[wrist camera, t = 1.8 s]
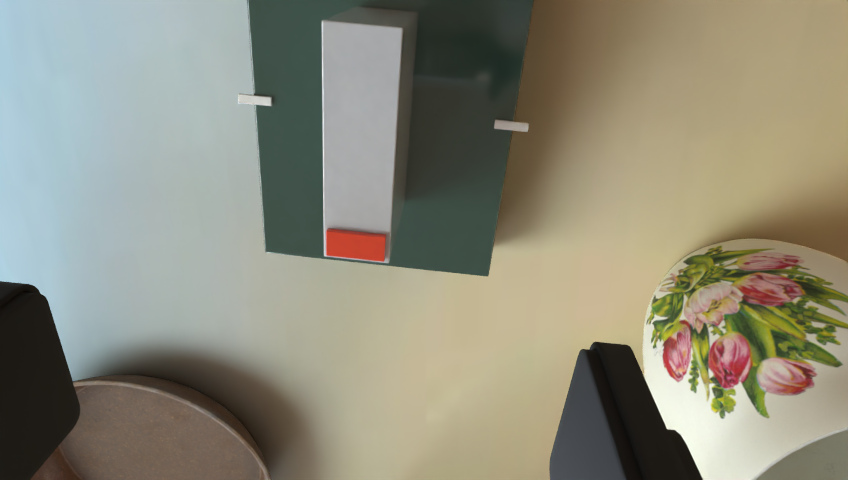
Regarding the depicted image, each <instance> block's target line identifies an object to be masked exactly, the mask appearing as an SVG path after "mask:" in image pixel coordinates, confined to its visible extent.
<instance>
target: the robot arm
mask: <svg viewBox="0 0 848 480" xmlns="http://www.w3.org/2000/svg"><path fill="white" fill-rule="evenodd" d="M79 416H80V404H79V400H78V397H77V394H76V391H75V388H74V384H73V381H72V378H71V375H70V371H69V368H68V365H67V362H66V359H65V355H64V352H63V349H62V346H61V342H60V339H59V336H58V333H57V330H56V326H55V323H54V320H53V317H52V313H51V310H50V307H49V304H48V301H47V299H46V297H45V296H43V295H41V294H40V292H39V290H38V289H37V288H36V287H35V286H33V285H29V284H21V283H11V282H1V281H0V480H30V479H31V478H32V477H33V476H34V474H35V473H36V472H37V471H38V470H39V468H40V467H41V466H42V465H43V464H44V462H45V461H46V460H47V459H48V458H49V457H50V455H51V454H52V453H53V452H54V451H55V449H56V448H57V447H58V446H59V445H60V443H61V442H62V441H63V440H64V439H65V437H66V436H67V435H68V434H69V433H70V432H71V430H72V429H73V428H74V426H75V425H76V423H77V421H78V419H79ZM550 480H703V478H702V476H701V474H700V472H699V470H698V468H697V466H696V464H695V461H694V459H693V457H692V455H691V453H690V451H689V449H688V446H687V444H686V442H685V441H684V439H683V438H682V436H681V435H680V434H679V433H678V432H677V431H676V430H670V429H667V428H666V426H665V423H664V421H663V419H662V416H661V414H660V412H659V410H658V407H657V405H656V403H655V401H654V398H653V396H652V394H651V392H650V389H649V387H648V385H647V383H646V380H645V378H644V376H643V374H642V371H641V369H640V367H639V365H638V362H637V360H636V358H635V355H634V353H633V351H632V349H631V348H630V347H629V346H628V345H621V344H611V343H601V342H594V343H593V344H592V345H591V347H590V350H586V349H582V350H581V351H580V352H579V355H578V358H577V362H576V366H575V369H574V373H573V377H572V380H571V384H570V387H569V391H568V395H567V398H566V402H565V406H564V409H563V413H562V417H561V420H560V424H559V428H558V431H557V435H556V439H555V442H554V446H553V450H552V453H551V458H550Z"/></svg>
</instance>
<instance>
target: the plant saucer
mask: <svg viewBox="0 0 848 480" xmlns="http://www.w3.org/2000/svg"><path fill="white" fill-rule="evenodd" d="M73 384H74V388H75V391H76V394H77V397H78V400H79V404H80V416H79V419H78V421H77V423H76V425H75V426H74V428H73V429H72V430H71V432H70V433H69V434H68V435H67V436H66V437H65V439H64V440H63V441H62V442H61V443H60V445H59V446H58V447H57V448H56V449H55V451H54V452H53V453H52V454H51V455H50V457H49V458H48V459H47V460H46V461H45V462H44V464H43V465H42V466H41V467H40V468H39V470H38V471H37V472H36V473H35V474H34V476H33V477H32V478H31V479H30V480H271V476H270V473H269V470H268V468H267V465H266V463H265V460H264V458H263V456H262V454H261V452H260V450H259V448H258V446H257V444H256V443H255V441H254V440H253V438H252V436H251V435H250V433H249V432H248V431H247V429H246V428H245V427H244V426H243V424H242V423H241V422H240V421H239V420H238V419H237V418H236V417H235V416H234V415H233V414H232V413H231V412H229V411H228V410H227V409H226V408H224V407H223V406H222V405H220V404H219V403H217V402H216V401H214V400H213V399H211V398H209V397H207V396H206V395H204V394H202V393H200V392H198V391H196V390H194V389H192V388H189V387H187V386H184V385H181V384H179V383H175V382H172V381H168V380H164V379H160V378H154V377H148V376H137V375H110V376H100V377H93V378H87V379H82V380H78V381H74V382H73Z"/></svg>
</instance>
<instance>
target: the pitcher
mask: <svg viewBox="0 0 848 480" xmlns="http://www.w3.org/2000/svg"><path fill="white" fill-rule="evenodd" d="M643 362H644V372H645V373H644V374H643V376H644V378H645V380H646V383H647V385H648V387H649V389H650V392H651V394H652V396H653V398H654V401H655V403H656V405H657V407H658V410H659V412H660V414H661V416H662V419H663V421H664V423H665V426H666V428H667V429H670V430H676V431H677V432H678V433H679V434H680V435H681V436H682V438H683V439H684V441H685V442H686V444H687V446H688V449H689V451H690V453H691V455H692V457H693V459H694V461H695V464H696V466H697V468H698V470H699V472H700V474H701V476H702V478H703V480H848V262H846V261H844V260H842V259H839V258H837V257H834V256H832V255H829V254H827V253H824V252H821V251H817V250H814V249H811V248H808V247H804V246H801V245H797V244H792V243H787V242H782V241H777V240H768V239H737V240H731V241H726V242H722V243H716V244H713V245H709V246H706V247H703V248H701V249H698V250H696V251H694V252H692V253H690V254H689V255H687V256H686V257H684V258H683V259H681V260H680V261H679V262H678V263H676V264H675V265H674V266H673V267H672V268H671V269H670V271H669V272H668V273H667V274H666V276H665V277H664V278H663V279H662V281H661V282H660V283H659V285H658V286H657V288H656V290H655V291H654V294H653V296H652V298H651V300H650V303H649V306H648V309H647V313H646V317H645V323H644V331H643Z"/></svg>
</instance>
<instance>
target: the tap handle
mask: <svg viewBox="0 0 848 480" xmlns="http://www.w3.org/2000/svg"><path fill="white" fill-rule="evenodd" d="M417 22H418V12H414V11H403V10H393V9H382V8H372V7H362V6H356V7H354V8H351V9H349V10H346V11H344V12H341V13H339V14H336V15H334V16H332V17H329V18H327V19H324V20H322V121H323V223H324V256H325V257H334V258H344V259H353V260H362V261H371V262H381V263H389V261H390V257H391V254H392V250H393V246H394V242H395V238H396V234H397V230H398V226H399V223H400V219H401V215H402V211H403V207H404V203H405V192H406V178H407V164H408V150H409V136H410V122H411V107H412V93H413V79H414V65H415V51H416V37H417Z"/></svg>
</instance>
